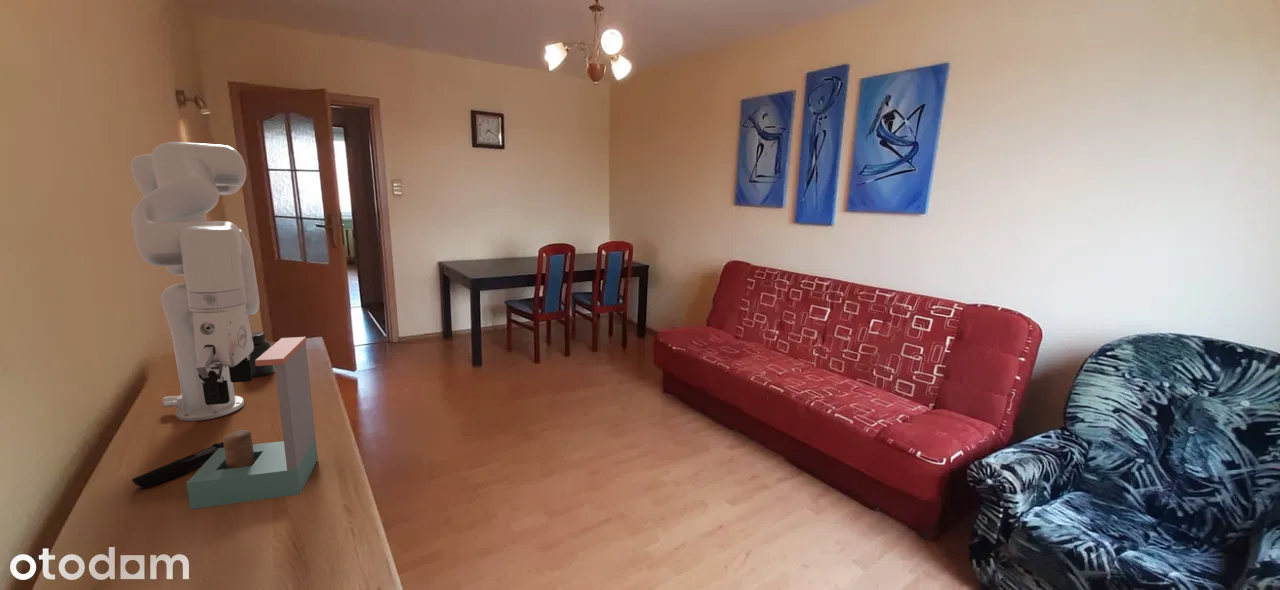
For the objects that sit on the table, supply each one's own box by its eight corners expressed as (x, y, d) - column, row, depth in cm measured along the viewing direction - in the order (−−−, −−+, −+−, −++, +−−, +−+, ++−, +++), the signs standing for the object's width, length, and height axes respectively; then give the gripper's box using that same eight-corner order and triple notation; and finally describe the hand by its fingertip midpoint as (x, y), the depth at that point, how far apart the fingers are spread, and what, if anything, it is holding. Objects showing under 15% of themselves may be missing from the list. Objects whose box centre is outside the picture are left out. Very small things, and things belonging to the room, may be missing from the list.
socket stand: (189, 511, 85) (164, 365, 79) (223, 470, 97) (204, 342, 91) (299, 495, 90) (283, 358, 84) (318, 459, 102) (305, 336, 96)
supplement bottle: (269, 367, 150) (264, 329, 147) (278, 373, 146) (273, 333, 143) (241, 373, 144) (236, 333, 142) (250, 379, 140) (244, 338, 138)
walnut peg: (226, 492, 90) (218, 441, 88) (235, 480, 94) (228, 431, 92) (252, 489, 91) (245, 439, 89) (260, 477, 95) (254, 428, 93)
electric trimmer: (129, 491, 90) (125, 475, 89) (224, 450, 104) (222, 436, 103) (141, 496, 89) (138, 480, 88) (236, 454, 103) (234, 440, 102)
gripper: (221, 310, 78) (235, 411, 82) (262, 287, 94) (272, 372, 98) (161, 312, 76) (178, 415, 80) (214, 288, 92) (226, 375, 96)
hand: (230, 391), depth 89 cm, fingers open, 9 cm apart
